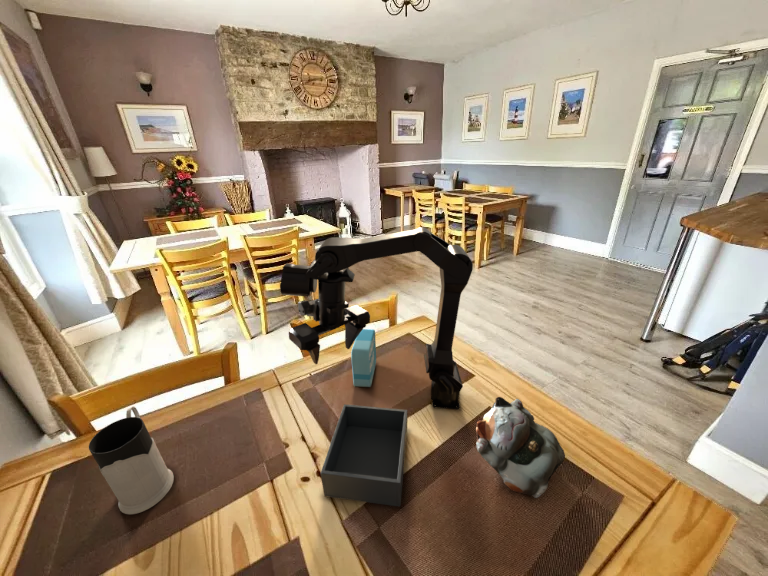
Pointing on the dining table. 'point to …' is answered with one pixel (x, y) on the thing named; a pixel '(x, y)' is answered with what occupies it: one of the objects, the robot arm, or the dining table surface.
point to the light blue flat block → (364, 358)
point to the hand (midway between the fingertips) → (332, 355)
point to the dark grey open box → (367, 455)
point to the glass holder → (131, 463)
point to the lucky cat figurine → (518, 447)
